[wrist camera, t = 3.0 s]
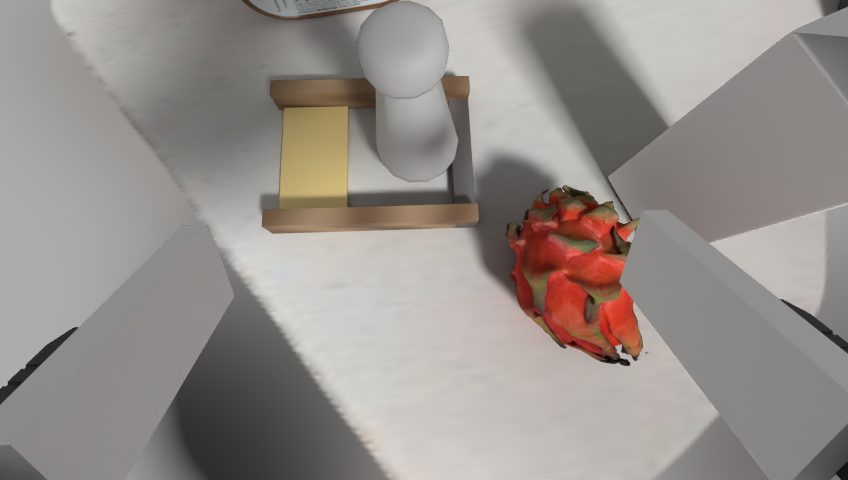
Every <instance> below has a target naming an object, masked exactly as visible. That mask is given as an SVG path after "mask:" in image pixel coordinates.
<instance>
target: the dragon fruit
mask: <svg viewBox="0 0 848 480" xmlns="http://www.w3.org/2000/svg"><path fill="white" fill-rule="evenodd" d="M562 189H563V190H564V191H565V192H562ZM562 189H561V188H557V189H555V190H553V191H552V192H551V194H550V198H549V202H550V204H548V203H545V202H544V201H543V197H542V196H543V194H544V193H545V192H547V191H548V190H549V189H548V190H546V191H544V192H543V191H542V193H541V194H540V195H539V196H537V197H536V199H535V201H534V204H533V209H530V210H527V211H526V213H525V216H524V219H523V225H524V227H523V229H522V230H519V229H520V228H521V226H520V225H518V224H517V223H516V222H509V223H507V231H506V238H507V240H508V242H509V245H510V248H512V249H514V250H515V252H516V254H517V260H516V263H515V266H514V268H513V270H512V271H511V272H510V278H511V281H512V282H513V284H514V285H515V286H516V287H517V297H518V303H519V305H520V307H521V308H522V310H523V311H524V312H525V313H526V315H527V316H529V317H531V318H532V319H533V320H534V321H535V322H536V323H537V324H538V325H539V326H541V327H542V328H543V329H544V331H545V332H546V333H548V334H549V335H550V336H551V337H552V339H553V340H554V341H555V342H556V343H557V344H558V345H559V346H560V347H562V348H564V349H565V348H567V347H566V346H565V345H568V346H570V347H573V348H576V349H579V350H581V351H583V352H585V353H587V354H588V355H590V356H591V357H593V358H594V359H596V360H598V361H601V362H605V363H610V364H616V363H618V362H619V363H620V364H621V365H623V366H630V362H629V361H628V360H627V359H626V360H625V359H622V358H620V355H619V354H617V353H616V352H617V349H616V348H615V346H619V345H621V344H622V350H621V352H622V353H626V354H630V355H631V356H632V358H633V359H634V361H636V360H638V359H637V357H638V356H639V353H640V352H641V350H642V348H643V342H642V336H641V334H640V331H639V328H638V321H637V318H636V316H635V314H634V311H633V299H632V298H631V297H630V295H629V294H628V293H627V291H626V290H625V289H624V287H623V286H622V285H621V283H620V282H619V281H620V278H621V275H622V272H623V269H624V265H625V262H626V259H627V256H628V253H629V250H630V247H631V244H632V243H631V242H626V240H627V237H628V236H629V235H630V233H631V232H632V231H633V230H634V229H635V228H636V227H637V226H638V223H639V219H640V218H636V219H634V220H633V221H631V222H628V223H626V224H622V223H620V222H618V219H619V215H618V213H617V212H616V211H615V210H614V206H613V201H610V202H605V203H603V204H601V205H599V204H598V203H597V201H595V200H594V197H593V196H592V195H590V193H589V192H587V191H586V192H584V191H579V190H576V189H573V188H571V187H569V186H567V185H564V186H563V187H562ZM564 344H565V345H564ZM646 353H648V352H646Z"/></svg>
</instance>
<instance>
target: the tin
mask: <svg viewBox="0 0 848 480" xmlns="http://www.w3.org/2000/svg"><path fill="white" fill-rule="evenodd" d="M242 1H243V2H244V3H245V4H246V5H248V6H249V7H250V8H252V9H254V10H255V11H257V12H259V13H261V14H264V15H266V16H269V17H273V18H277V19H284V20H298V19H305V18H312V17H319V16H326V15H333V14H340V13H347V12H354V11H361V10H368V9H374V8H380V7H383V6H385V5H387V4H389V3H392V2H397V1H399V0H242Z"/></svg>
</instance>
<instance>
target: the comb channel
mask: <svg viewBox="0 0 848 480" xmlns="http://www.w3.org/2000/svg"><path fill="white" fill-rule="evenodd" d="M441 82H442V86H443V89H444V93H445V96H446V100H447V103H448V107H449V110H450V114H451V117H452V121H453V124H454V127H455V131H456V134H457V137H458V144H457V149H456V154H455V158H454V160H453V162H452V163H451V167H452V185H453V203H454V204H439V205H406V206H373V207H340V208H306V209H273V210H263V216H262V227H263V228H265V229H267V230H268V231H270V232H271V233H304V232H336V231H368V230H399V229H431V228H463V227H475V226H476V224H477V223H478V221H479V212H478V203H475V195H474V181H473V166H472V152H471V138H470V123H469V109H468V96H469V92H470V85H469V76H448V77H442V78H441ZM270 96H271V97H272V99H273V100H274V102H275V103H276V105H277V106H278V108H279V110H284V108H297V107H338V106H348V108H368V107H376V89H375V88H374V86H373V85H372V84H371V83H370V82H369V81H368V80H367V79H366V78H362V79H319V80H275V81H271V86H270Z"/></svg>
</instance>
